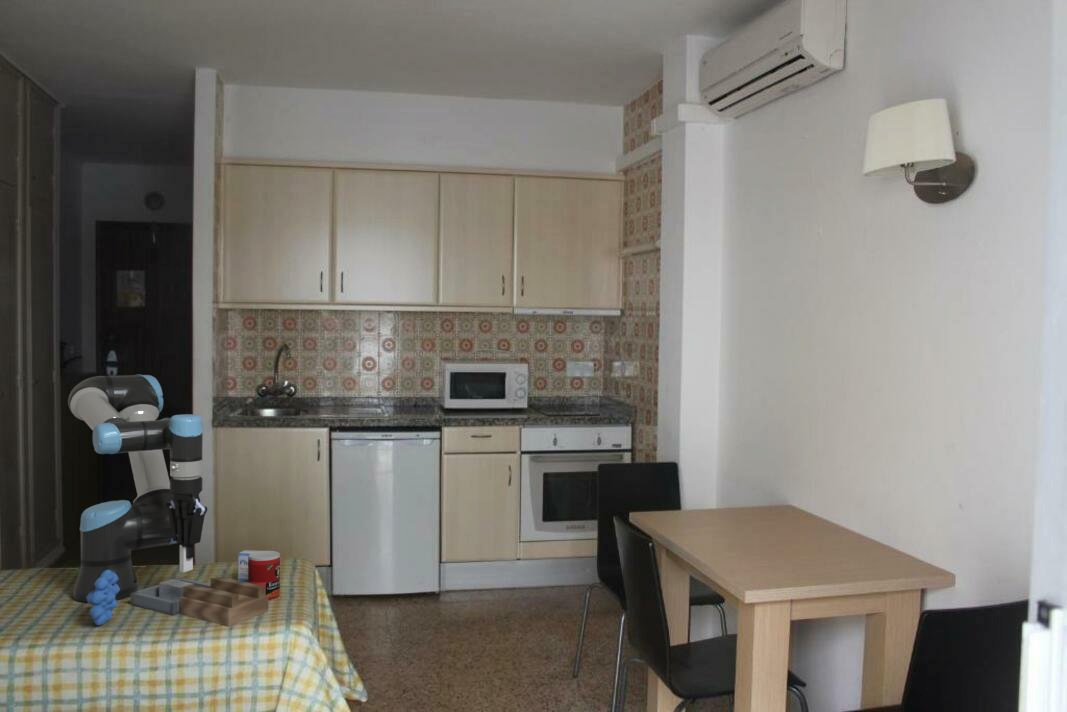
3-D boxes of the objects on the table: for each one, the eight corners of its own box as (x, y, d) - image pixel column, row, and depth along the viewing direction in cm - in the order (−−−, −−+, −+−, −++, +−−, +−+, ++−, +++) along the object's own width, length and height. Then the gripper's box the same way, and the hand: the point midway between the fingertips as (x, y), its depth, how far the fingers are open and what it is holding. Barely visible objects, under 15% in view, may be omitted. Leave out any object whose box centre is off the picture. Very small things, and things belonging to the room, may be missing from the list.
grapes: (97, 614, 204) (96, 564, 204) (126, 613, 204) (125, 564, 204) (74, 631, 192) (74, 578, 192) (105, 630, 193) (104, 578, 192)
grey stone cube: (169, 601, 212) (159, 598, 214) (183, 596, 216) (172, 594, 218) (169, 585, 212) (159, 582, 214) (183, 581, 216) (172, 578, 218)
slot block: (179, 614, 204) (179, 587, 204) (220, 600, 215) (220, 575, 214) (228, 626, 196) (228, 598, 196) (268, 611, 206) (268, 585, 206)
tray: (130, 604, 211) (130, 592, 211) (182, 589, 224) (182, 577, 224) (173, 615, 203) (173, 603, 203) (223, 598, 216) (223, 587, 216)
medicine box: (237, 584, 228) (237, 553, 228) (246, 580, 233) (246, 548, 232) (264, 587, 227) (263, 554, 226) (272, 582, 231) (272, 550, 231)
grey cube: (169, 601, 212) (169, 585, 212) (183, 596, 216) (183, 581, 216) (180, 603, 210) (180, 587, 210) (193, 599, 214) (193, 583, 214)
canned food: (271, 602, 214) (270, 559, 213) (242, 600, 215) (242, 557, 215) (285, 593, 221) (285, 551, 221) (257, 591, 223) (257, 549, 222)
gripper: (156, 476, 211) (156, 570, 212) (191, 482, 205) (191, 578, 206) (181, 472, 218) (181, 562, 218) (216, 477, 211) (216, 570, 212)
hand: (186, 570), depth 212 cm, fingers closed
